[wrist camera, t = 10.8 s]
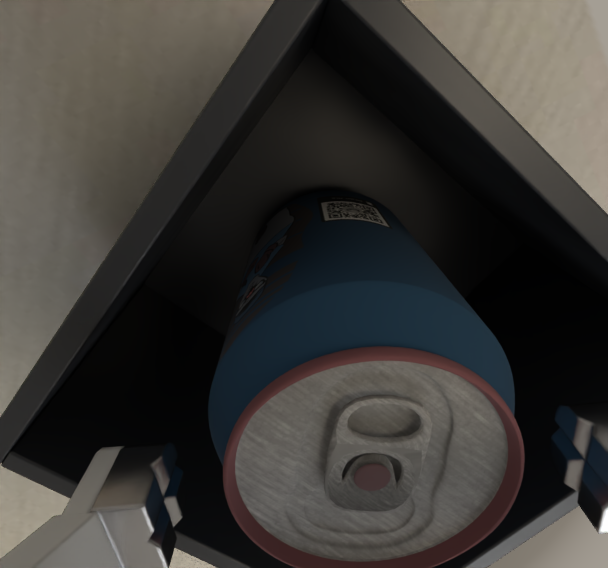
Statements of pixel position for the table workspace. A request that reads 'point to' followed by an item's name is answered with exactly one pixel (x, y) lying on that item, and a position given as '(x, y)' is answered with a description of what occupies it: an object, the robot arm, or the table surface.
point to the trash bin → (289, 186)
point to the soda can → (360, 397)
